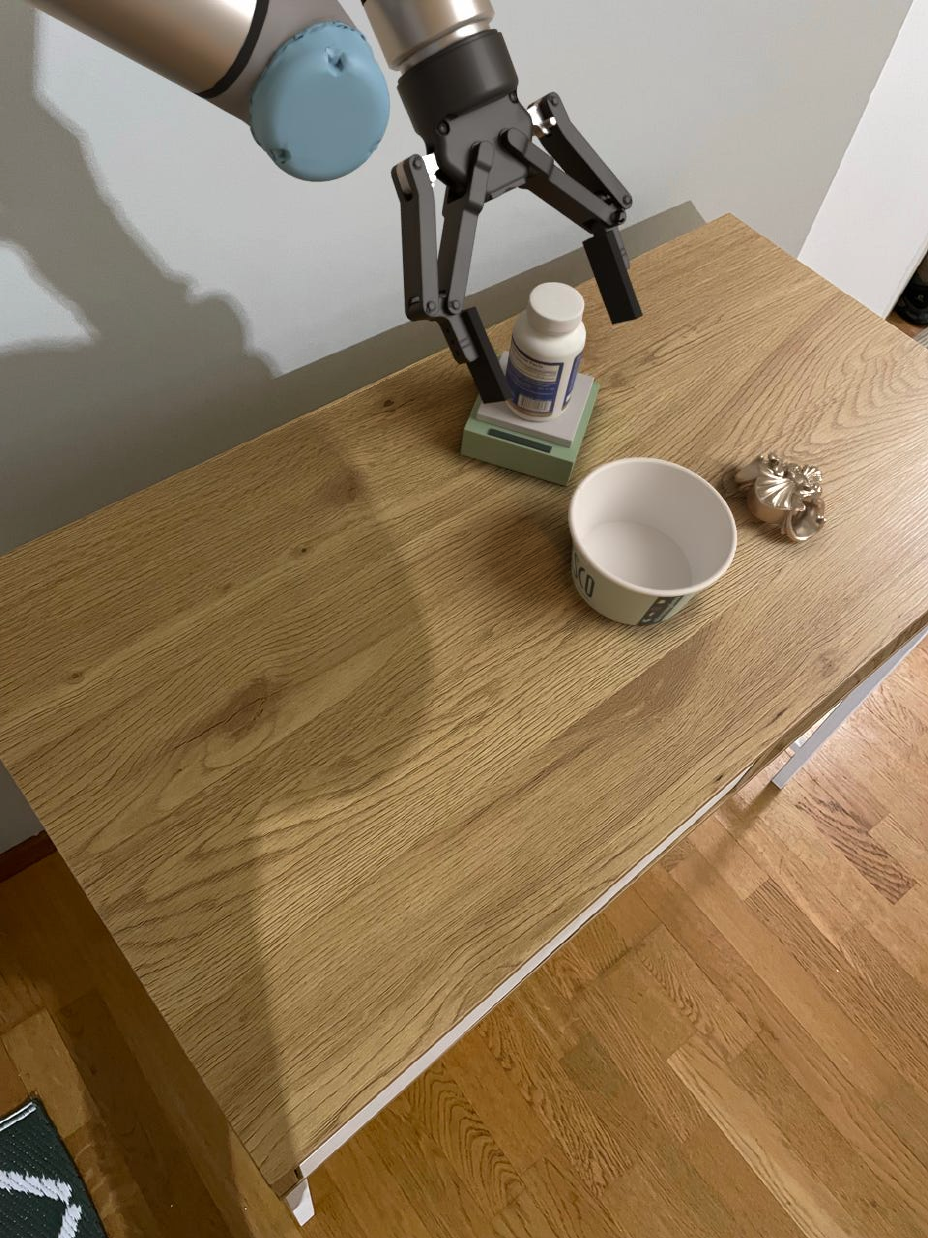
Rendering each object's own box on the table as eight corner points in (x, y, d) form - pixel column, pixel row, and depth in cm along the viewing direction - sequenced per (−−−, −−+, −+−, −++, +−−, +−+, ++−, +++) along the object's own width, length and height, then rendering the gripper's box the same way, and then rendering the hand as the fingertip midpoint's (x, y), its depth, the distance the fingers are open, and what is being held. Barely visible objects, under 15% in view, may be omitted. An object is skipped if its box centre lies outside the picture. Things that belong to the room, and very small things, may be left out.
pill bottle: (541, 364, 76) (563, 265, 68) (582, 407, 74) (609, 310, 66) (488, 389, 74) (503, 290, 66) (528, 433, 72) (549, 337, 64)
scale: (460, 454, 76) (464, 422, 72) (492, 379, 80) (497, 345, 77) (566, 486, 75) (575, 455, 72) (592, 409, 79) (602, 376, 76)
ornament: (842, 521, 76) (863, 493, 72) (782, 557, 73) (801, 529, 70) (775, 455, 79) (791, 425, 75) (715, 487, 76) (729, 457, 73)
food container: (738, 614, 70) (770, 565, 64) (596, 663, 67) (617, 616, 61) (661, 493, 75) (684, 439, 70) (527, 533, 72) (540, 479, 67)
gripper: (544, 20, 69) (642, 298, 77) (265, 134, 59) (410, 440, 67) (613, -27, 62) (711, 280, 70) (313, 91, 52) (467, 434, 60)
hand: (565, 359), depth 69 cm, fingers open, 13 cm apart
